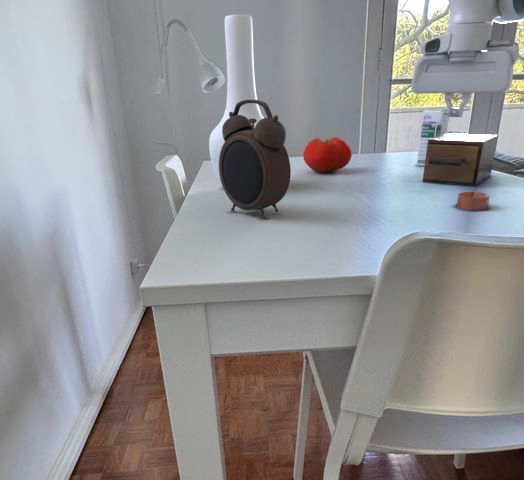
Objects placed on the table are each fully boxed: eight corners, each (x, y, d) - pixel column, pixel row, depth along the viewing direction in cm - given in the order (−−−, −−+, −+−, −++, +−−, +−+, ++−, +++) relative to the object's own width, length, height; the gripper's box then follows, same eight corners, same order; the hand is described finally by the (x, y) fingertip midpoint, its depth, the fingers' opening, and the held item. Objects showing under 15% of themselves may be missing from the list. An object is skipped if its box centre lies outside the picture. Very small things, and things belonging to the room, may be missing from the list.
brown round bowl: (490, 205, 93) (492, 193, 92) (483, 211, 89) (485, 198, 88) (461, 202, 96) (463, 190, 95) (453, 208, 92) (455, 196, 91)
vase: (210, 195, 110) (194, 12, 92) (214, 182, 124) (202, 21, 107) (281, 192, 110) (279, 9, 93) (277, 179, 125) (275, 19, 107)
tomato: (293, 174, 131) (293, 140, 127) (311, 167, 141) (311, 135, 136) (340, 177, 126) (342, 141, 121) (355, 169, 135) (357, 136, 131)
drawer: (465, 186, 106) (472, 149, 102) (416, 182, 112) (420, 146, 108) (485, 173, 118) (492, 140, 115) (440, 170, 124) (445, 138, 120)
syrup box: (415, 165, 138) (422, 110, 130) (423, 163, 142) (431, 109, 134) (434, 167, 134) (442, 110, 127) (442, 164, 138) (450, 109, 131)
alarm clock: (216, 211, 96) (207, 100, 86) (242, 205, 100) (236, 98, 90) (268, 223, 87) (265, 100, 77) (294, 215, 91) (294, 98, 81)
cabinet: (475, 185, 110) (483, 141, 106) (422, 181, 117) (428, 139, 112) (490, 176, 121) (498, 135, 116) (440, 172, 127) (446, 133, 122)
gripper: (524, 39, 94) (508, 116, 101) (423, 45, 104) (414, 115, 111) (518, 37, 90) (501, 118, 96) (413, 44, 100) (405, 117, 107)
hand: (454, 116), depth 104 cm, fingers closed
